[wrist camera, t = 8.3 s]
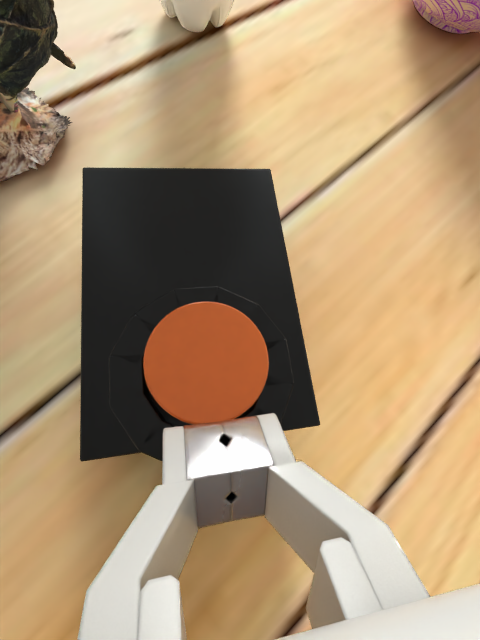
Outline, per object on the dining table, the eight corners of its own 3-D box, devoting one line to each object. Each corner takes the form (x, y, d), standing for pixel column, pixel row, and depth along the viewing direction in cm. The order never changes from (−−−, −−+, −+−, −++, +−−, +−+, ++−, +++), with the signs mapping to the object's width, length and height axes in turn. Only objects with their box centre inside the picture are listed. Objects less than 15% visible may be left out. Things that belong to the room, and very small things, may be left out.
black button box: (285, 437, 20) (345, 446, 12) (113, 464, 18) (59, 493, 10) (251, 228, 24) (280, 139, 16) (109, 232, 22) (68, 133, 15)
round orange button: (261, 417, 12) (278, 415, 10) (154, 432, 12) (145, 434, 9) (246, 319, 14) (259, 296, 11) (148, 327, 13) (139, 305, 10)
